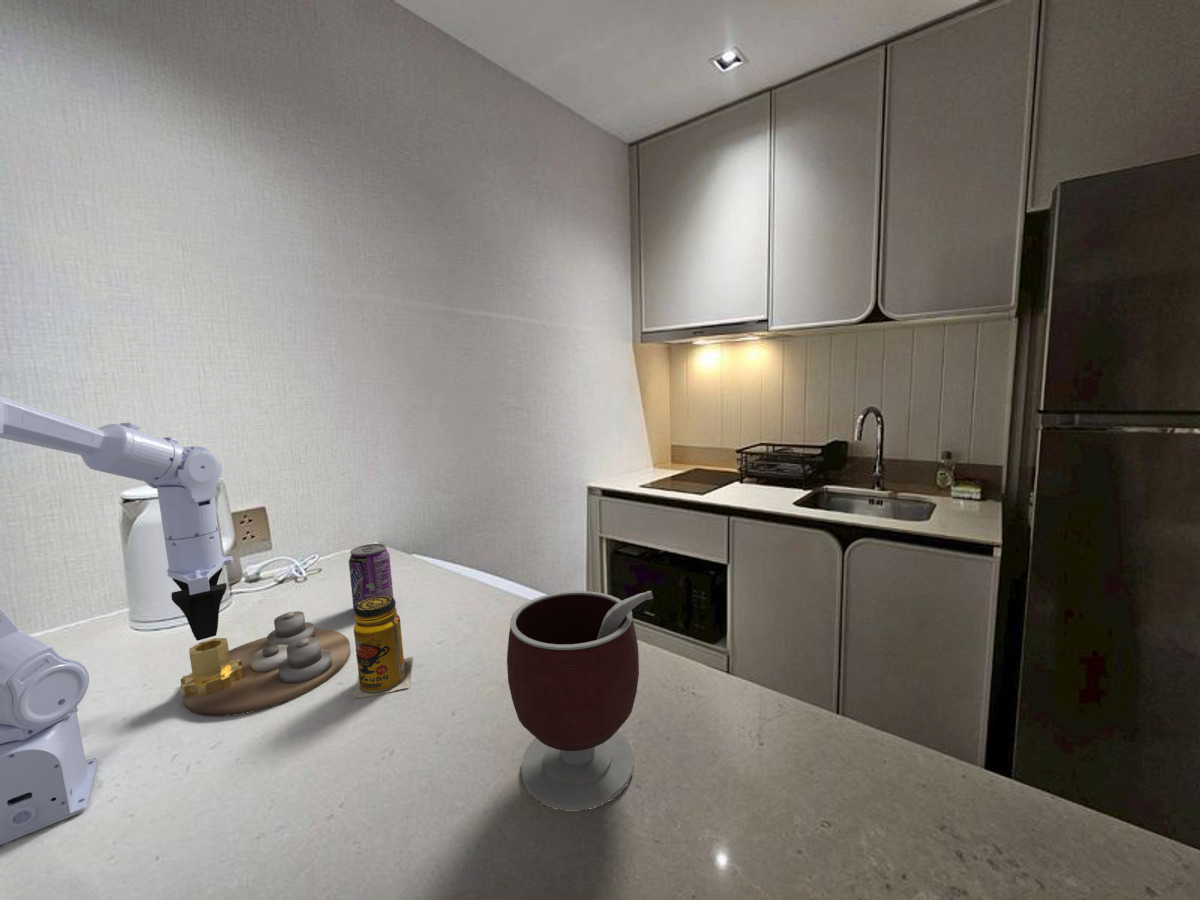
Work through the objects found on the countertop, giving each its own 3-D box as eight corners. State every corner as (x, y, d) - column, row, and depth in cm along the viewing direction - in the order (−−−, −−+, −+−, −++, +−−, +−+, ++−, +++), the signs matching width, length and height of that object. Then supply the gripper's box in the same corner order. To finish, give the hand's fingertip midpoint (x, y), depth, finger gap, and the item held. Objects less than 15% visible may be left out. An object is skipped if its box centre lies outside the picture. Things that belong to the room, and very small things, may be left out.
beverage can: (354, 605, 97) (348, 546, 95) (393, 597, 100) (388, 540, 98) (353, 619, 90) (346, 557, 89) (394, 611, 93) (389, 550, 92)
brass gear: (246, 682, 69) (241, 645, 69) (182, 704, 65) (176, 665, 64) (240, 662, 74) (236, 628, 74) (181, 681, 70) (176, 645, 69)
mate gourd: (495, 812, 48) (482, 618, 45) (533, 717, 61) (525, 564, 59) (655, 826, 46) (650, 623, 43) (657, 725, 59) (654, 566, 57)
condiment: (352, 700, 66) (343, 616, 65) (362, 667, 74) (354, 592, 73) (409, 689, 69) (402, 607, 67) (413, 658, 77) (407, 584, 75)
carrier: (366, 671, 73) (363, 634, 72) (183, 740, 60) (176, 695, 59) (333, 623, 89) (329, 593, 88) (182, 669, 76) (176, 633, 75)
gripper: (232, 537, 64) (245, 636, 66) (224, 518, 75) (236, 602, 77) (160, 550, 60) (176, 655, 61) (163, 527, 71) (177, 617, 72)
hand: (205, 627), depth 69 cm, fingers open, 7 cm apart
